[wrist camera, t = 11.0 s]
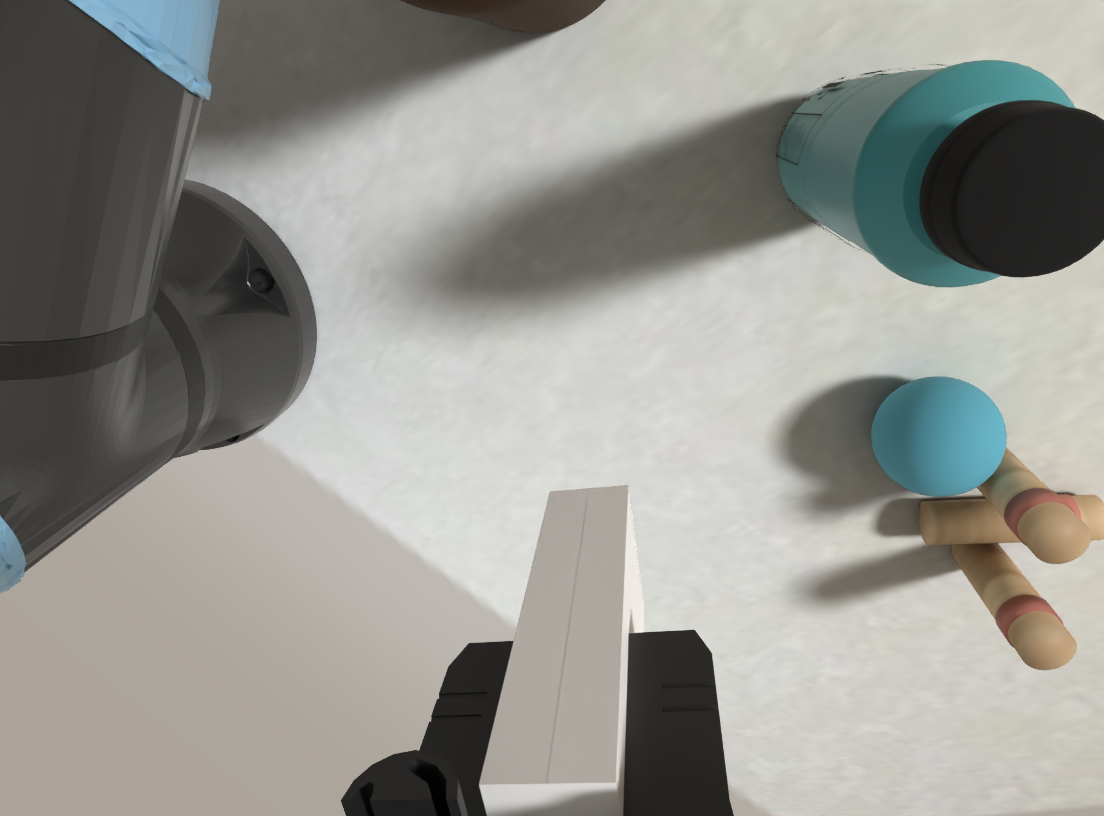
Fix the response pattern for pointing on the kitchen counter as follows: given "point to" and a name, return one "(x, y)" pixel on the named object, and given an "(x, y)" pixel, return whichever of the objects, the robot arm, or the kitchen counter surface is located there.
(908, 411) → the ball
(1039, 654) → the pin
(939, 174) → the beverage bottle
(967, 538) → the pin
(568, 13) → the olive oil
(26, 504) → the robot arm
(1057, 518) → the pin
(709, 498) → the kitchen counter surface
